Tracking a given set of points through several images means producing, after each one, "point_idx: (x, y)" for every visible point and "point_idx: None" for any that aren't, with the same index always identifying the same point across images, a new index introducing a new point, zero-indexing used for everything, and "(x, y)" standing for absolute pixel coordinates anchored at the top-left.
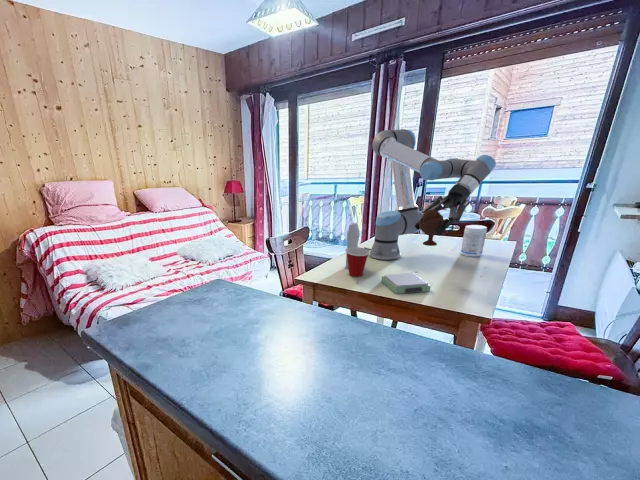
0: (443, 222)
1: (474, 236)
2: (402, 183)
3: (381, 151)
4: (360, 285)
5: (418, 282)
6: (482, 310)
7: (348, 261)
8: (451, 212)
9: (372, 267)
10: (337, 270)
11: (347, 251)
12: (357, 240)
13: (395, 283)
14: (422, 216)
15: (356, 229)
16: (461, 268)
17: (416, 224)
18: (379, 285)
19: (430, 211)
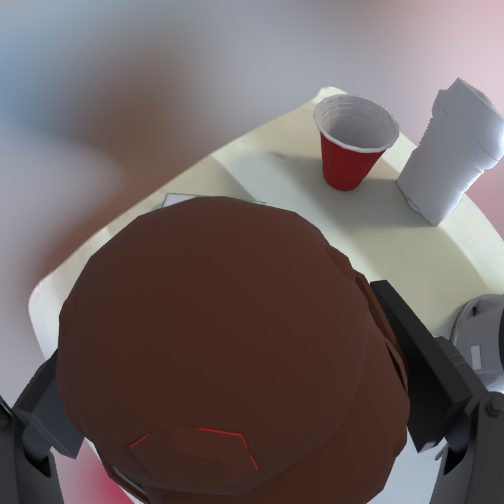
0: (50, 369)
1: None
2: None
3: None
4: (258, 154)
5: None
6: (37, 317)
7: (346, 124)
8: (2, 500)
9: (398, 251)
10: (383, 155)
11: (374, 110)
12: (462, 162)
13: (182, 196)
14: (453, 365)
15: (475, 121)
16: None
17: (384, 292)
18: (239, 192)
19: (123, 232)
